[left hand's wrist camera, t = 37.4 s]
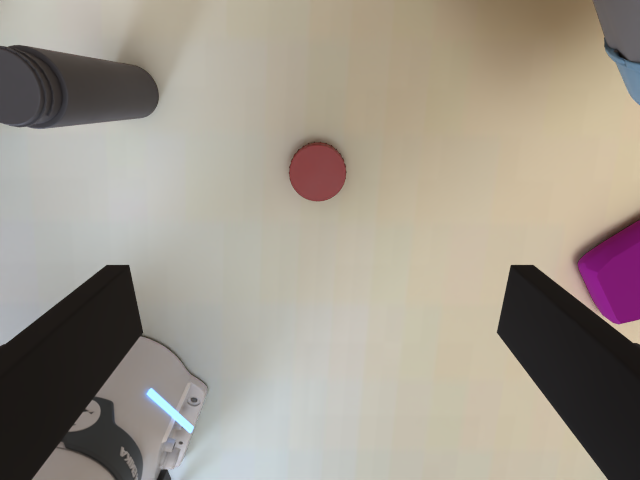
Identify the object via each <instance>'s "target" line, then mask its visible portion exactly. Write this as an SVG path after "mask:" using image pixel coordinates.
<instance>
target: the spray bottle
mask: <svg viewBox="0 0 640 480" xmlns="http://www.w3.org/2000/svg"><path fill="white" fill-rule="evenodd" d="M578 268H579V271H580V273H581V275H582V277H583V280H584V282H585V284H586V286H587V288H588V291H589V293H590V295H591V297H592V299H593V301H594V303H595V304H596V306H597V307H598V309H599V310H600V312H601V313H602V315H603V316H605V317H606V318H607V319H609V320H610V321H611V322H613V323H616V324H622V323H626V322H631V321H635V320H639V319H640V220H639V221H637V222H635V223H633V224H632V225H630V226H629V227H627V228H625V229H624V230H622V231H620V232H619V233H617V234H615V235H614V236H612V237H610V238H609V239H607V240H606V241H604V242H602V243H601V244H599V245H598V246H596V247H595V248H593V249H592V250H590V251H589V252H587V253H586V254H585V255H584V256H583V257H582V258H581V259H580V260H579V262H578Z"/></svg>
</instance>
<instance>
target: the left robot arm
mask: <svg viewBox="0 0 640 480" xmlns="http://www.w3.org/2000/svg"><path fill="white" fill-rule="evenodd" d="M593 3H594V6H595V9H596V12H597V15H598V18H599V21H600V24H601V27H602V30H603V33H604V36H605V37H604V42H605V45H604V47H605V50H606V52H607V54H608V56H609V57H610V58H611V59H612V60H613V61H614V62H616V64H617V67H618V69H619V71H620V74H621V76H622V78H623V81H624V83H625V86H626V88H627V90H628V92H629V94H630V96H631V97H632V98H633V100H634V101H635V102H636V103H638V104H639V105H640V0H593ZM142 333H143V330H142V325H141V320H140V315H139V310H138V306H137V301H136V296H135V291H134V286H133V282H132V277H131V272H130V267H129V265H106V266H105V267H104V268H102V269H101V270H100V271H99V272H97V273H96V274H95V275H93V276H92V277H91V278H90V279H88V280H87V281H86V282H84V283H83V284H82V285H81V286H79V287H78V288H77V289H76V290H74V291H73V292H72V293H70V294H69V295H68V296H67V297H65V298H64V299H63V300H61V301H60V302H59V303H58V304H56V305H55V306H54V307H52V308H51V309H50V310H49V311H47V312H46V313H45V314H44V315H42V316H41V317H40V318H38V319H37V320H36V321H35V322H33V323H32V324H31V325H29V326H28V327H27V328H26V329H24V330H23V331H22V332H20V333H19V334H18V335H17V336H15V337H14V338H13V339H12V340H10V341H9V342H8V343H6V344H4V345H2V346H0V480H32V479H33V478H34V476H35V475H36V474H37V472H38V471H39V470H40V468H41V467H42V466H43V464H44V463H45V462H46V460H47V459H48V458H49V456H50V455H51V454H52V452H53V451H54V450H55V448H56V447H57V446H58V444H59V443H60V442H61V440H62V439H63V438H64V436H65V435H66V434H67V433H68V431H69V430H70V429H71V427H72V426H73V425H74V423H75V422H76V421H77V419H78V418H79V417H80V415H81V414H82V413H83V411H84V410H85V409H86V407H87V406H88V405H89V403H90V402H91V401H92V399H93V398H94V397H95V395H96V394H97V393H98V392H99V390H100V389H101V388H102V386H103V385H104V384H105V382H106V381H107V380H108V378H109V377H110V376H111V374H112V373H113V372H114V370H115V369H116V368H117V366H118V365H119V364H120V362H121V361H122V360H123V358H124V357H125V356H126V354H127V353H128V352H129V350H130V349H131V348H132V347H133V345H134V344H135V343H136V341H137V340H138V339H139V337H140V336H141V335H142ZM497 333H498V335H499V336H500V337H501V339H502V340H503V341H504V343H505V344H506V345H507V347H508V348H509V349H510V350H511V352H512V353H513V354H514V356H515V357H516V358H517V360H518V361H519V362H520V364H521V365H522V366H523V368H524V369H525V370H526V372H527V373H528V374H529V376H530V377H531V378H532V380H533V381H534V382H535V384H536V385H537V386H538V388H539V389H540V390H541V392H542V393H543V394H544V395H545V397H546V398H547V399H548V401H549V402H550V403H551V405H552V406H553V407H554V409H555V410H556V411H557V413H558V414H559V415H560V417H561V418H562V419H563V421H564V422H565V423H566V425H567V426H568V427H569V429H570V430H571V431H572V433H573V434H574V435H575V436H576V438H577V439H578V440H579V442H580V443H581V444H582V446H583V447H584V448H585V450H586V451H587V452H588V454H589V455H590V456H591V458H592V459H593V460H594V462H595V463H596V464H597V466H598V467H599V468H600V470H601V471H602V472H603V474H604V475H605V476H606V478H607V479H608V480H640V345H639V344H637V343H632V342H631V341H630V340H628V339H627V338H626V337H625V336H623V335H622V334H621V333H620V332H618V331H617V330H616V329H614V328H613V327H612V326H611V325H609V324H608V323H607V322H605V321H604V320H603V319H602V318H600V317H599V316H598V315H596V314H595V313H594V312H593V311H591V310H590V309H589V308H588V307H586V306H585V305H584V304H582V303H581V302H580V301H579V300H577V299H576V298H575V297H573V296H572V295H571V294H570V293H568V292H567V291H566V290H564V289H563V288H562V287H561V286H559V285H558V284H557V283H556V282H554V281H553V280H552V279H550V278H549V277H548V276H547V275H545V274H544V273H543V272H541V271H540V270H539V269H538V268H536V267H535V266H534V265H511V267H510V272H509V277H508V282H507V286H506V291H505V296H504V301H503V306H502V310H501V315H500V320H499V325H498V330H497Z"/></svg>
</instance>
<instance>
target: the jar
mask: <svg viewBox="0 0 640 480" xmlns="http://www.w3.org/2000/svg"><path fill="white" fill-rule="evenodd" d="M157 103H158V89H157V86H156V84H155V82H154V80H153V78H152V77H151V76H150V75H149V74H148V73H147V72H146V71H145V70H143V69H142V68H140V67H138V66H134V65H129V64H124V63H118V62H112V61H107V60H101V59H96V58H90V57H84V56H79V55H73V54H68V53H62V52H56V51H51V50H45V49H39V48H34V47H28V46H21V45H14V46H9V47H4V46H0V123H3V124H7V125H9V126H15V127H26V126H27V127H30V128H36V129H45V128H54V127H63V126H72V125H81V124H91V123H100V122H109V121H118V120H127V119H136V118H143V117H146V116H148V115H150V114H151V113H152V112H153V111H154V110H155V108H156V106H157Z"/></svg>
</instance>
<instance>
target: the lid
mask: <svg viewBox="0 0 640 480" xmlns="http://www.w3.org/2000/svg"><path fill="white" fill-rule="evenodd" d="M291 162H292V163H291V164H290V167H289V168H290V172H289V174H290V181H291V184H292V186H293V188H294V189H295V190H296V192H297V193H298V194H299V195H301V196H302V197H304V198H306V199H308V200H311V201H324V200H327V199H330V198H332V197H333V196H335V195H336V194H337V193H338V192H339V191H340V190H341V188H342V186H343V185H344V182H345V179H346V169H345V167H346V166H345V164H344V159H343V158H342V157H341V154H340V153H339V152H338V151H337V149H335V148H333V147H332V145H331V146H330V145H328V144H327V143H321V142H320V143H315V142H314V143H311V144H309V143H308V145H305V146H303V147H302V148H301V149H299V150H298V152H297V153H296V154H295V155H294V158H293V159H292V160H291Z"/></svg>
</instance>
